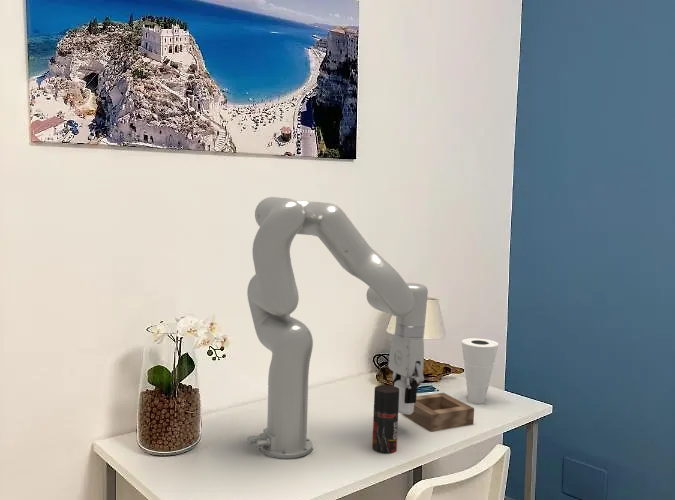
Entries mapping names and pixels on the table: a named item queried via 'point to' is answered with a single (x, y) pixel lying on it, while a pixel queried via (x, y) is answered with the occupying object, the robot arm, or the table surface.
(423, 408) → the socket
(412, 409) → the eye dropper bottle
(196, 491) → the table surface
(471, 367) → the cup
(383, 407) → the deodorant
